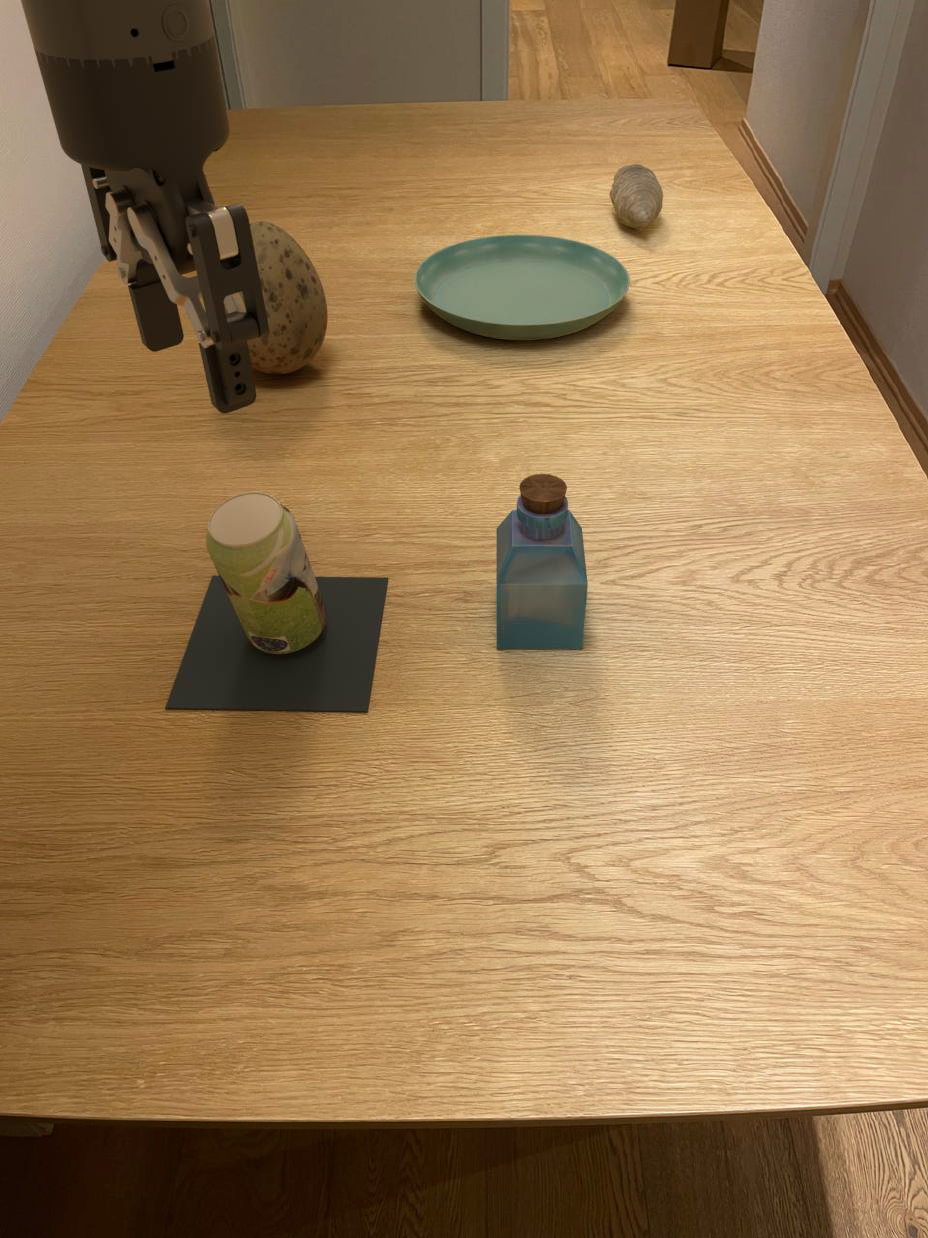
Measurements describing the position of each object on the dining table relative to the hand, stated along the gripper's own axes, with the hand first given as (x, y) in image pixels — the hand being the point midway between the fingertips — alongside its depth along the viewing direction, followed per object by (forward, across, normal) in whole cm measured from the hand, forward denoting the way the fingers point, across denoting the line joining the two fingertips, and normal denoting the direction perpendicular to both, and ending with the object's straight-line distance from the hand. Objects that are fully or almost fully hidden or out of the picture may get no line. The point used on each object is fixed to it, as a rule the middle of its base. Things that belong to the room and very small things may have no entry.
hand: (198, 374), depth 52 cm
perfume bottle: (+24, +7, +19) cm, 31 cm away
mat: (+24, -3, +3) cm, 24 cm away
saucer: (+23, -35, +52) cm, 67 cm away
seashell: (+23, -44, +80) cm, 93 cm away
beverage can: (+24, -3, +3) cm, 24 cm away
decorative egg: (+24, -39, +24) cm, 51 cm away
